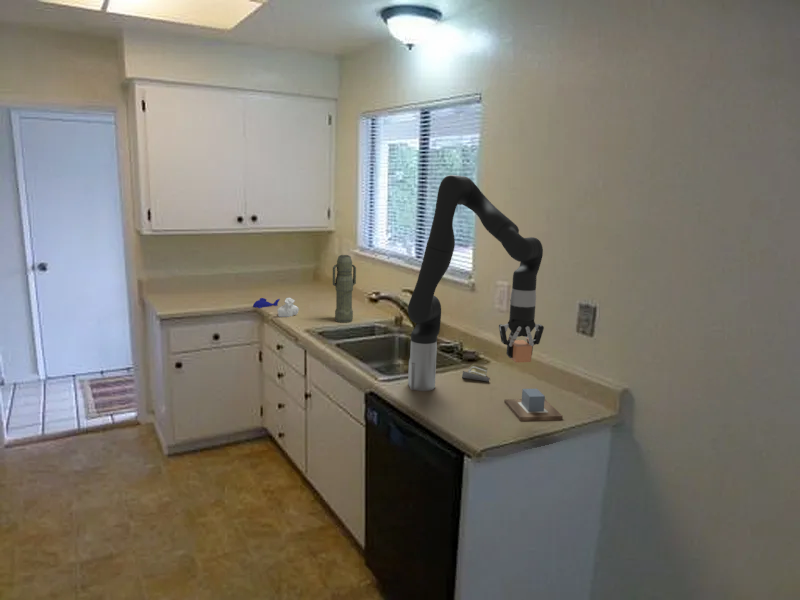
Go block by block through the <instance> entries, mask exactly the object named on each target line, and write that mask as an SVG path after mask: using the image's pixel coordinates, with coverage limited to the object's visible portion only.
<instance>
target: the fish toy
mask: <svg viewBox="0 0 800 600" xmlns="http://www.w3.org/2000/svg"><path fill="white" fill-rule="evenodd" d="M280 300H281V299H280V298H278V299H276V300H275V301H274V303H272V302H269V301H267V298H264V297H261V298H259V299H257V300H256V301H255V302H254V303H253V306H252V307H253V308H257V309H263V308H267V307H268V308H269V307H272V306H274V307H277V306H279V305H278V304H279V301H280Z"/></svg>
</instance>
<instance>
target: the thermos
mask: <svg viewBox="0 0 800 600" xmlns="http://www.w3.org/2000/svg"><path fill="white" fill-rule="evenodd" d="M356 284H357V267H356V266H355V264H353V260H352V256H351V255H347V254H340V255H339V256H338V258H337V260H336V263H335V264H334V265H333V266H332V286H335V292H336V293H335V295H336V297H335V300H336V301H335V302H336V304H335V306H336V307H335V310H334V319H335V322H337V323H341V324H349V323H352V322H353V319H354V317H353V316H354V311H353V307H352V306H353V292H354V291H353V290H354V286H355V285H356Z"/></svg>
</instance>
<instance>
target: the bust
mask: <svg viewBox="0 0 800 600" xmlns="http://www.w3.org/2000/svg"><path fill="white" fill-rule="evenodd" d="M295 302H296V300H295V299H294V298H292V297H286V298H285V300H284V304H283V305H281V306H279V307H278V308H277V315H278V317H279V318H291V317H294V316H293V315H295V316H297V315H298V313H299V311H300V308H299V307H298V306H297V305H295V304H294V303H295ZM290 316H291V317H290Z"/></svg>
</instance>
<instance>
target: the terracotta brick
mask: <svg viewBox="0 0 800 600" xmlns="http://www.w3.org/2000/svg"><path fill="white" fill-rule="evenodd" d="M506 356H507V357H508V355H507V354H506ZM532 356H533V351H532V346H531V345H530V344H528V343H527V341H526V340H524V339H518V340H517V339H516V340H515V341H514V344H513V357H512V358H510V360H512V362H514V363H532Z"/></svg>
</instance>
